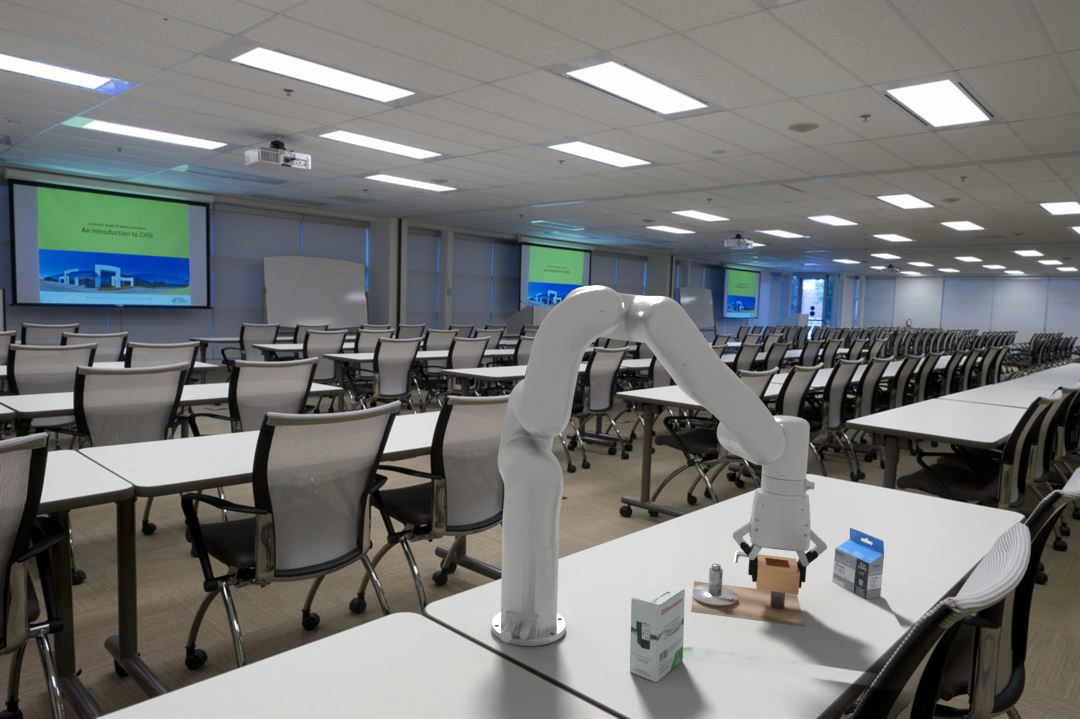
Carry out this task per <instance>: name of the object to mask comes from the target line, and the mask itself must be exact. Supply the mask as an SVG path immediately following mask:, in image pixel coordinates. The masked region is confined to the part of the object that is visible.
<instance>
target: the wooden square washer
mask: <svg viewBox="0 0 1080 719" xmlns="http://www.w3.org/2000/svg"><path fill="white" fill-rule="evenodd" d="M762 554H763V553H759V554H758V555H757V558H758V563H757V577H756V581H755V587H756V588H755V589H760V590H767V591H775V592H782V593H789V594H797V596H798V595H799V591H800V588H799V580H800V571H799V568H798V565H797V562H798V560H797V558H792V557H784V556H777V555H776V556H775V555H770V554H767V555H762Z"/></svg>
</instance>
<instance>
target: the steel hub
mask: <svg viewBox="0 0 1080 719" xmlns="http://www.w3.org/2000/svg"><path fill="white" fill-rule="evenodd" d="M708 572H709V574H708V583H709V584H705V585H699V586H696V587H695V588H694V589H692V598H694V600H695V601H697V602H698V603H700V604H703V605H706V606H710V607H716V608H726V607H731V606H734V605H735V604H736V603H737V593H736V592H735V591H733V590H732V589H730V588H727V587H724V586H722V585H723V574H724V570H723V568H722V565H721V564H720V563H719V564H718V563H712V564H711V567H709V571H708Z"/></svg>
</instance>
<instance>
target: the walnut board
mask: <svg viewBox="0 0 1080 719" xmlns="http://www.w3.org/2000/svg"><path fill="white" fill-rule="evenodd" d="M705 584H709V582H702V581H693V589H694V588H695V587H696V586H699V585H705ZM722 586H724V587H727V588H730V589H732V590H733V591H735V592H736V593H737V603H736V604H735V605H734V606H731V607H726V608H716V607H710V606H706V605H703V604H700V603H698V602H697V601H695V600H694V598H693V597H692V599H691V600H692V601H691V608H690V609H691V610H690V611H691V612H692V613H698V614H704V615H706V614H707V615H712V616H713V615H714V616H720V617H721V616H722V617H727V618H728V617H729V618H736V619H744V620H753V621H761V622H766V623H769V622H770V623H776V624H782V625H790V626H799V627H806V624H805V620H804V616H803V613H802V609H801V605H800V601H799V597H798V595H797V594H789V593H782V592H775V591H767V590H760V589H756V588H753V587H745V586H737V585H730V584H729V585H727V584H722ZM693 589H692V590H693Z"/></svg>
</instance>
